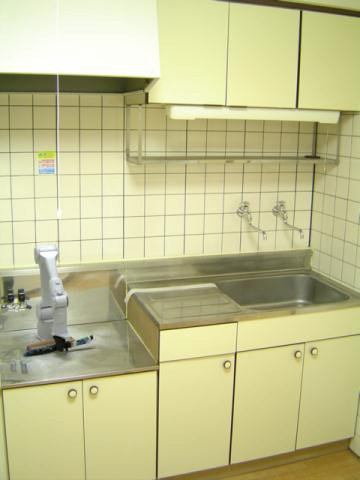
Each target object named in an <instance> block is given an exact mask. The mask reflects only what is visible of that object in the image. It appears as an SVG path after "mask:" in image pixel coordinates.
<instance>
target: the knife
mask: <svg viewBox="0 0 360 480" xmlns="http://www.w3.org/2000/svg"><path fill="white" fill-rule="evenodd" d="M93 340H94V336H93V334H91V335H87V336H85V337H82V338H80V339H76V340H75V341H74V342H69V341H66V343H65V347H64V350H65V352H69V349H72V348H76V347H78V346H82V345H85V344H91V342H92V341H93ZM54 352H58V349H57V346H56V344H54V345H51V346H46V347H41V348H36V349H32V350H30V351H28V350H27V351H26V352H24V353H23V355H22V356H23V357H34V356H40V355H45V354H51V353H54Z"/></svg>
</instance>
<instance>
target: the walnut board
mask: <svg viewBox="0 0 360 480" xmlns="http://www.w3.org/2000/svg"><path fill="white" fill-rule="evenodd" d="M74 341H76V339H75V338H73V337H72V336H70V341H69V342H74ZM54 344H56V343H55V340H54V339H49V340H45V341H41V340H40V341H37V342H33V343H29V344H26V350H27V352H28V351H30V350H32V349H36V348H41V347H46V346H51V345H54Z"/></svg>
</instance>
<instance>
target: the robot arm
mask: <svg viewBox="0 0 360 480" xmlns="http://www.w3.org/2000/svg"><path fill="white" fill-rule="evenodd" d="M59 250H60V249H59V246H58V245H57V244H56V243H55V244H51V245H50V244H47V245H36V246H35V247H34V249H33V256H34V263H35V264H37V265H38V267H39V276H40V277H39V279H40V280H39V281H40V293H41V300H40V301H38V302H37V303H36V304H35V305H36V307H35V317H36V320H37V323H36V329H37V334H35V337H36V338H37V339H39V340H40V341H45V340H49V339H54V340H55V343H56V346H57V349H58V351H57V352H58V353H62V352H64V351H65V349H64V347H65V343H66V341H70V337H71V335H70V334H69V332H68V308H69V305H70V304H69V296H68V293H67V291H66V290H65V289H64V285H63V280H62V279H61V278H59V274H58V273H59V272H58V267H57V261H58V258H59V254H60V251H59Z"/></svg>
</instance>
